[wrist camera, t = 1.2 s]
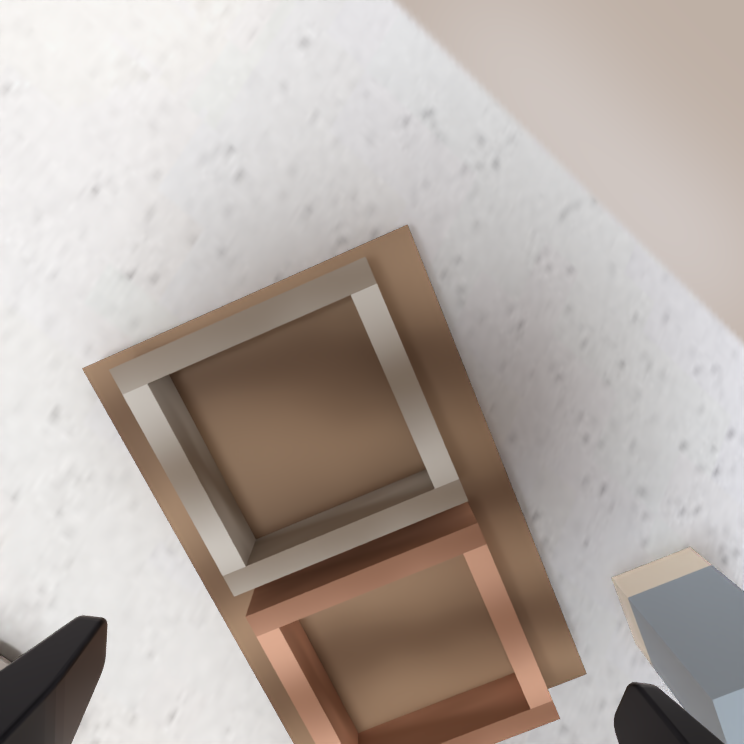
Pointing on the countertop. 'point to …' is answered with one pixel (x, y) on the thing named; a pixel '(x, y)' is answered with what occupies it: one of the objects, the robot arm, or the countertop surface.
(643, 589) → the banded block
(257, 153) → the countertop surface
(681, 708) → the robot arm
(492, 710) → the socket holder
